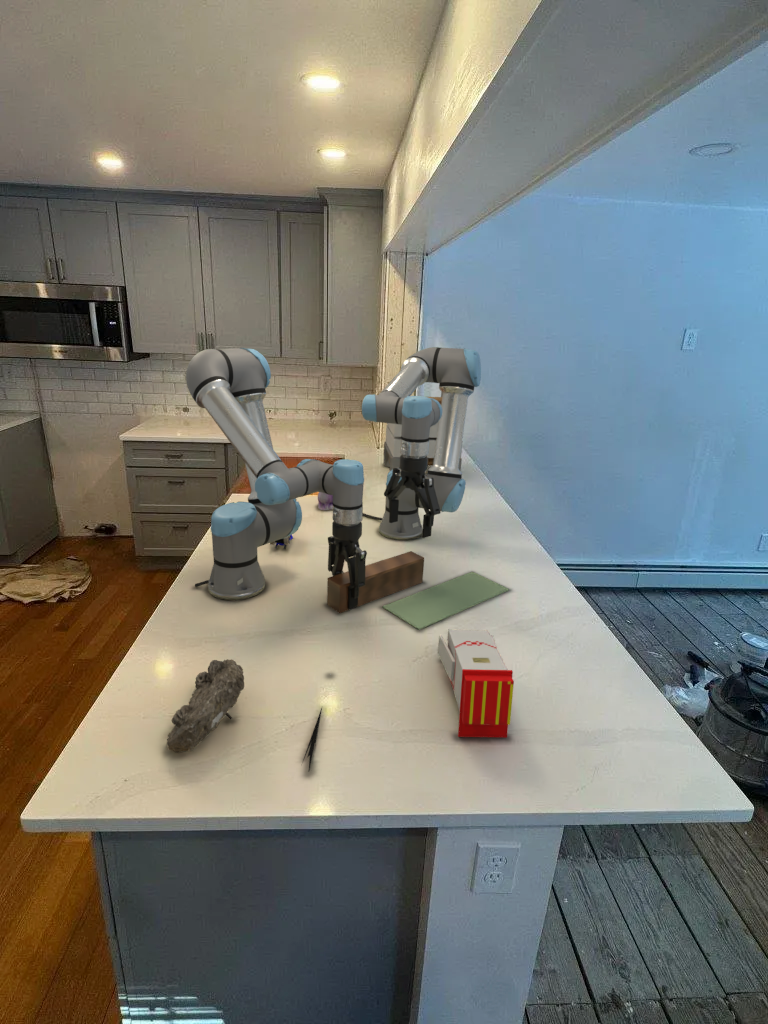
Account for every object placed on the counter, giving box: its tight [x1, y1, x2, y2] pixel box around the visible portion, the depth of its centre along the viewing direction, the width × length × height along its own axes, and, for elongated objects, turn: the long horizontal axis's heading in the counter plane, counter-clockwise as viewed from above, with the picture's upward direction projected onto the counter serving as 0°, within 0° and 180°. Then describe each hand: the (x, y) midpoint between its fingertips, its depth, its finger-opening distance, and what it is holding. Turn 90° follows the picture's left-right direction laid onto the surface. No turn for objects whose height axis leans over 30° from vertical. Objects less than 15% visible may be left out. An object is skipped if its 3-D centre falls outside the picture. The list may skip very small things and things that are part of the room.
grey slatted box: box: [383, 391, 465, 473], centre depth 268 cm, size 34×33×41 cm
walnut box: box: [326, 550, 425, 614], centre depth 156 cm, size 30×6×8 cm, turn 131°
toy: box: [437, 628, 515, 738], centre depth 117 cm, size 12×13×30 cm
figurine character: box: [269, 534, 294, 550], centre depth 186 cm, size 7×8×15 cm
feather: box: [301, 673, 332, 771], centre depth 108 cm, size 2×28×2 cm
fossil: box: [166, 658, 245, 754], centre depth 106 cm, size 22×10×15 cm
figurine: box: [317, 492, 333, 511], centre depth 220 cm, size 9×10×15 cm
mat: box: [382, 571, 510, 631], centre depth 157 cm, size 14×36×1 cm, turn 131°
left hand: (345, 602), depth 151 cm, fingers closed on walnut box, 6 cm apart
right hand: (409, 529), depth 159 cm, fingers open, 13 cm apart
